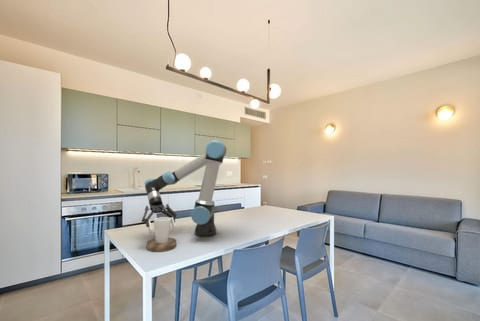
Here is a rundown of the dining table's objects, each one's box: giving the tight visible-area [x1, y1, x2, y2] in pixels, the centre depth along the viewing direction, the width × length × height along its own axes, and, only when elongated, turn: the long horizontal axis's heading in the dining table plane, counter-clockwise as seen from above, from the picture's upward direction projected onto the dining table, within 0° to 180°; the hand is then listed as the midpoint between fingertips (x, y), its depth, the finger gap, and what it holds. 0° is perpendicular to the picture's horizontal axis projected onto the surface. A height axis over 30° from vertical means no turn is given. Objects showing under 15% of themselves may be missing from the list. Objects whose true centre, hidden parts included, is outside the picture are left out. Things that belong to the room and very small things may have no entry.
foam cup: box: [153, 216, 172, 243], centre depth 130 cm, size 10×9×13 cm
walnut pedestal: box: [146, 237, 177, 253], centre depth 129 cm, size 16×16×3 cm
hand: (163, 229), depth 128 cm, fingers open, 13 cm apart
